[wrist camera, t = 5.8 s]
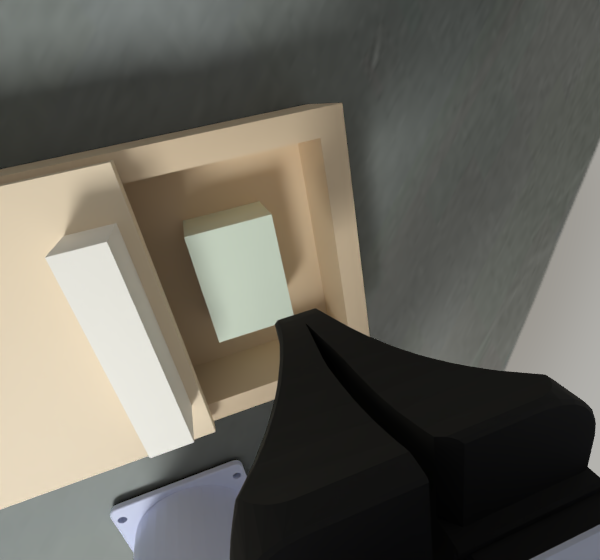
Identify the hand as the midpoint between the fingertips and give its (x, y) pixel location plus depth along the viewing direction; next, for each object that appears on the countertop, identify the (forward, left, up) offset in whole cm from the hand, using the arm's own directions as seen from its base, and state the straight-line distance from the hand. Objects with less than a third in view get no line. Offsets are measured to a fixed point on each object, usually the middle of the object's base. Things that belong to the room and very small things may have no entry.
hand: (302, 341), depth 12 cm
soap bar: (0, +1, -8) cm, 8 cm away
